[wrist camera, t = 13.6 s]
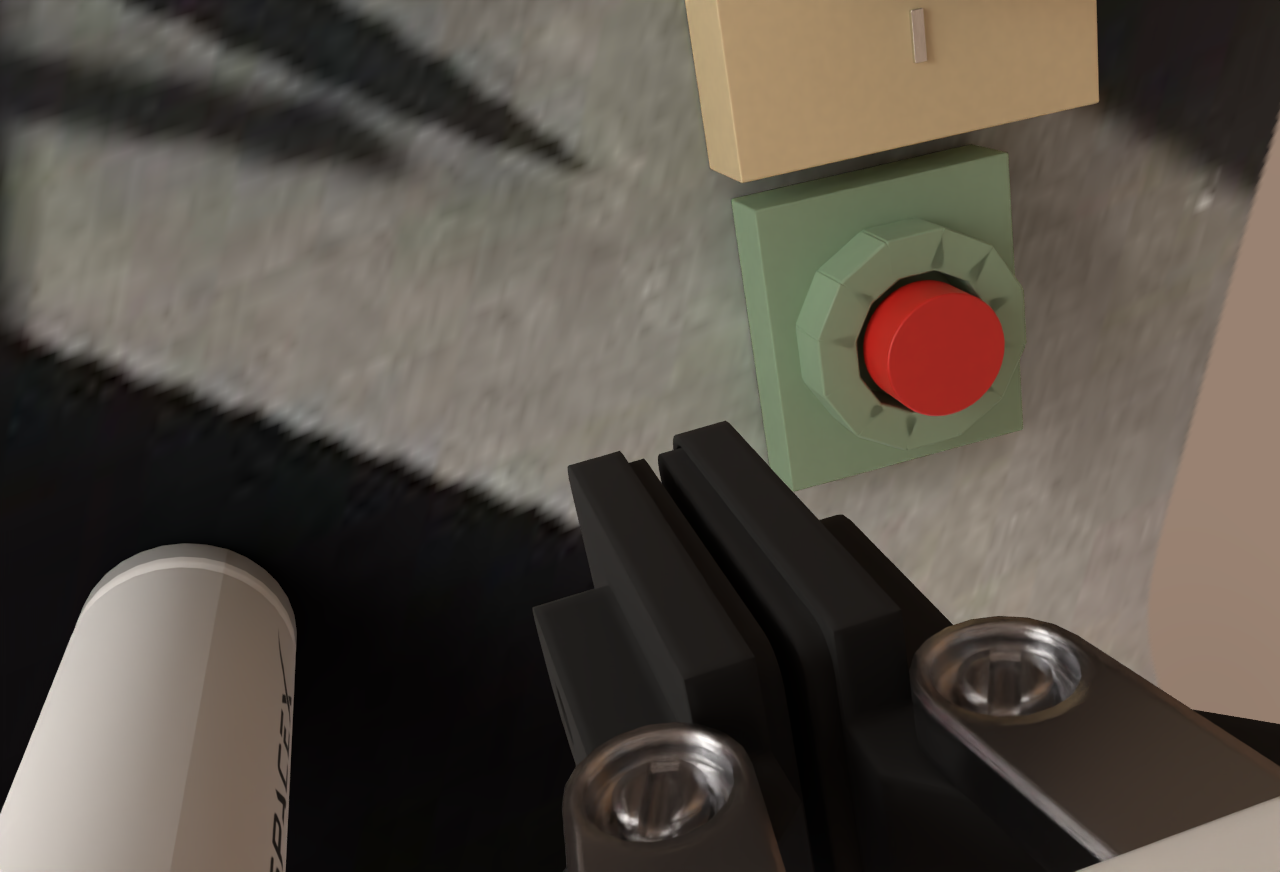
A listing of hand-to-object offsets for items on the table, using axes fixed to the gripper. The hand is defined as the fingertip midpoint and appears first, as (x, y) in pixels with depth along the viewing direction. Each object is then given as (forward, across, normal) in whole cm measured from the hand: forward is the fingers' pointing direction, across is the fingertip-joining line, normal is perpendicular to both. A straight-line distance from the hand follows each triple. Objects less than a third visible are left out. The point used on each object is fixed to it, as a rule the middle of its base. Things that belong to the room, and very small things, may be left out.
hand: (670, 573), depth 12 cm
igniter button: (+20, -12, +7) cm, 25 cm away
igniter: (+24, -12, +7) cm, 28 cm away
